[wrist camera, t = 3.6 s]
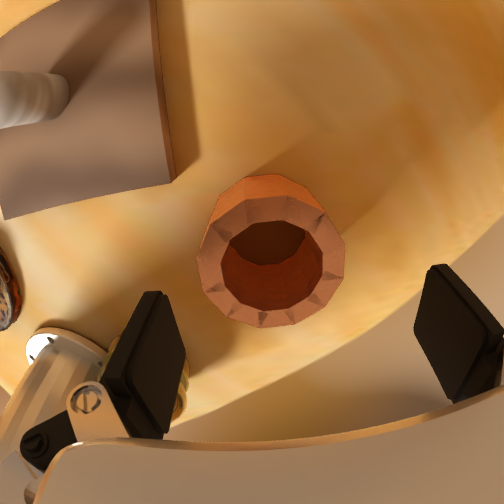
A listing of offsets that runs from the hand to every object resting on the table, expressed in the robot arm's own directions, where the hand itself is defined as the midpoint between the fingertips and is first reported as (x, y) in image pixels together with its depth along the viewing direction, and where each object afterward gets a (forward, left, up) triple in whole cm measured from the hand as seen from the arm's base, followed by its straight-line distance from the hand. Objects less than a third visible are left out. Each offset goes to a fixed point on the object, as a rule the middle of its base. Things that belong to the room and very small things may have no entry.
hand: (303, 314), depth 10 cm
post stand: (+10, +13, -9) cm, 19 cm away
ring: (-1, +1, -9) cm, 9 cm away
